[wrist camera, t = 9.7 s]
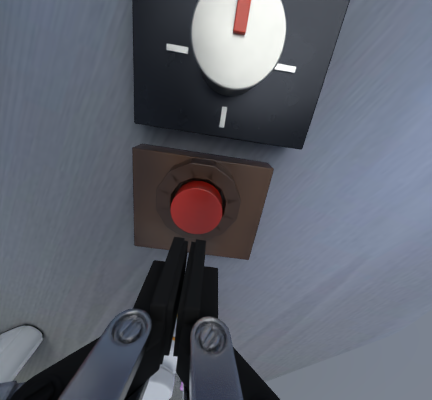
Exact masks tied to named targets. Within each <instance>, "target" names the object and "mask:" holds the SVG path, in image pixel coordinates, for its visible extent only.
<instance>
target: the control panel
mask: <svg viewBox="0 0 432 400" xmlns="http://www.w3.org/2000/svg"><path fill="white" fill-rule="evenodd" d="M197 1H198V0H132V3H133V64H134V122H135V123H136V124H142V125H149V126H155V127H161V128H168V129H174V130H180V131H187V132H193V133H199V134H206V135H212V136H219V137H225V138H231V139H238V140H244V141H250V142H257V143H263V144H269V145H276V146H282V147H289V148H295V149H302V148H303V145H304V142H305V138H306V135H307V132H308V129H309V126H310V123H311V120H312V117H313V114H314V110H315V107H316V104H317V101H318V98H319V95H320V92H321V89H322V86H323V82H324V79H325V76H326V73H327V70H328V67H329V64H330V61H331V58H332V54H333V51H334V48H335V45H336V42H337V39H338V36H339V33H340V30H341V26H342V23H343V20H344V17H345V14H346V11H347V8H348V5H349V1H350V0H282V2H283V5H284V9H285V13H286V19H287V36H286V42H285V46H284V50H283V53H282V55H281V58H280V60H279V62H278V64H277V66H276V67H275V68H274V70H273V71H272V72H271V74H270V75H269V76H268V77H267V78H266V79H265V80H264V81H262V82H261V83H259V84H258V85H256V86H255V87H253V88H252V89H250V90H249V91H247V92H245V93H243V94H241V95H238V96H225V95H221V94H219V93H217V92H215V91H214V90H213V89H211V88H210V87H209V85H208V84H207V83H206V82H205V80H204V78H203V76H202V74H201V71H200V69H199V67H198V64H197V62H196V59H195V57H194V54H193V50H192V45H191V35H190V33H191V21H192V16H193V12H194V9H195V6H196V3H197Z"/></svg>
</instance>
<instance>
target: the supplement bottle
mask: <svg viewBox="0 0 432 400" xmlns="http://www.w3.org/2000/svg"><path fill="white" fill-rule="evenodd" d="M177 315H178V314H177ZM176 324H177V319H176ZM176 324H175V329H174V334H173V339H172V344H171V349H170V354H169V356H166V355H164V359H163V363H162V364H160V368H159V370H158V371H157V372H156V373H155V374H154V375H152V376H151V377H150V378H149V382H148V385H147V388H146V390H145V393H144V396H143V398H142V400H169V399H170V397H171V396H172V392H173V386H174V381H175V375H174V374H175V373H176V365H177V357H176V356H173V353H174V343H175V334H176Z"/></svg>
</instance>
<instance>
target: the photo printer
mask: <svg viewBox="0 0 432 400" xmlns="http://www.w3.org/2000/svg"><path fill="white" fill-rule="evenodd" d="M42 340H43V338H42V333H41V332H40V331H39V330H38V329H36V328H34V327H32V326H20V327H17V328H14V329H12V330H9V331H7V332H5V333H2V334H0V383H4V382H10V381H13V379H14V378H15V377H16V375H17V374H18V373H19V371H20V370H21V369H22V367H23V366H24V365H25V363H26V362H27V361H28V360H29V358H30V357H31V356H32V354H33V353H34V352H35V350H36V349H37V348H38V346H39V345H40V343H41V342H42Z"/></svg>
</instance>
